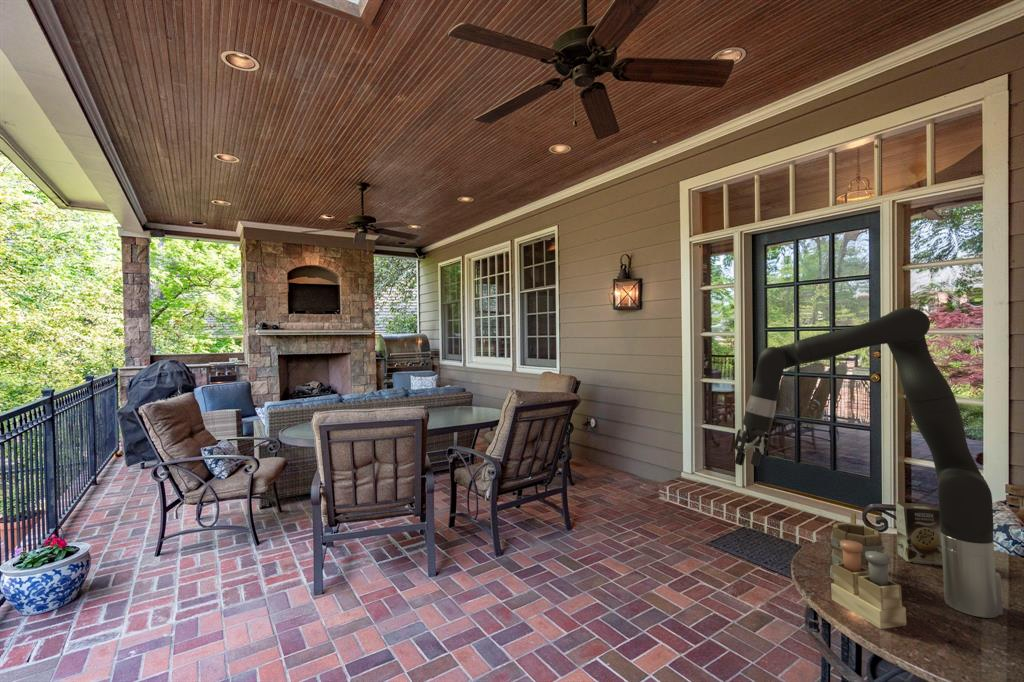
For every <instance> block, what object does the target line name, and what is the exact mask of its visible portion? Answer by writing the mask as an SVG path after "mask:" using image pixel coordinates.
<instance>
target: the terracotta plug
mask: <svg viewBox="0 0 1024 682" xmlns="http://www.w3.org/2000/svg"><path fill="white" fill-rule="evenodd" d="M840 547H841V548H842V549H843V566H844V568H845V569H847V570H848V571H850V572H852V573H854V572H861V553H860V552H862V551H863V545H862V544H861V543H859V542H856V541H851V540H841V541H840Z"/></svg>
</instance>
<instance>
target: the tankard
mask: <svg viewBox="0 0 1024 682" xmlns="http://www.w3.org/2000/svg"><path fill="white" fill-rule="evenodd" d="M849 517H850V518H849V519H850V522H839V523H834V524H833V527H832V531H831V536H830V544H831V546H833V548H832V552H831V555H830V556H831V563H832V564H830V570H829V578H830V579H831V580H833V581H834V572H833V564H836V563H843V549H842V548H841V547H840V541H841V540H851V541H856V542H859V543H861V544H862V545H863V551H862V552H860V553H861V566H862V567H864V568H866V569H868V570H869V565H868V560H866V558H865V552H867V551H875V552H880V553H884V549H885V547H884V545H883V540H881V538H880V531H879V530H877V529H874V528H872V527H869V526H867V525H863V524H857V514H856V513H853V512H850V514H849Z"/></svg>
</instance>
